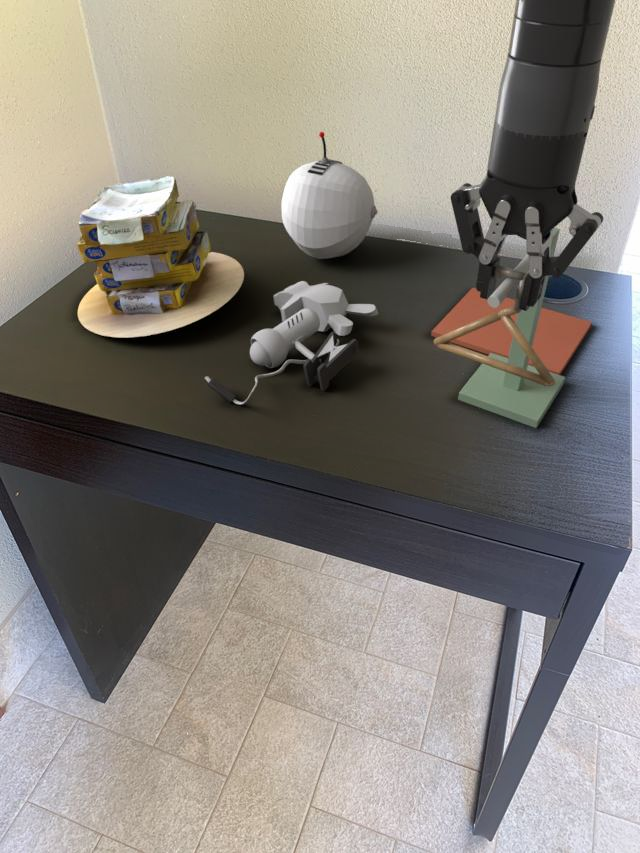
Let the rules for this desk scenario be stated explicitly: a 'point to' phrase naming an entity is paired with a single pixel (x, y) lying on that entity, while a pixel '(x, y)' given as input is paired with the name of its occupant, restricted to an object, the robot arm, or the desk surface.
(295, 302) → the bunny figurine
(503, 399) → the hook stand
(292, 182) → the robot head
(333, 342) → the clip-on lamp
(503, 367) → the hanger
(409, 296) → the desk surface
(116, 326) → the stacked boxes on plate
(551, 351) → the mat
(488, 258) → the robot arm
